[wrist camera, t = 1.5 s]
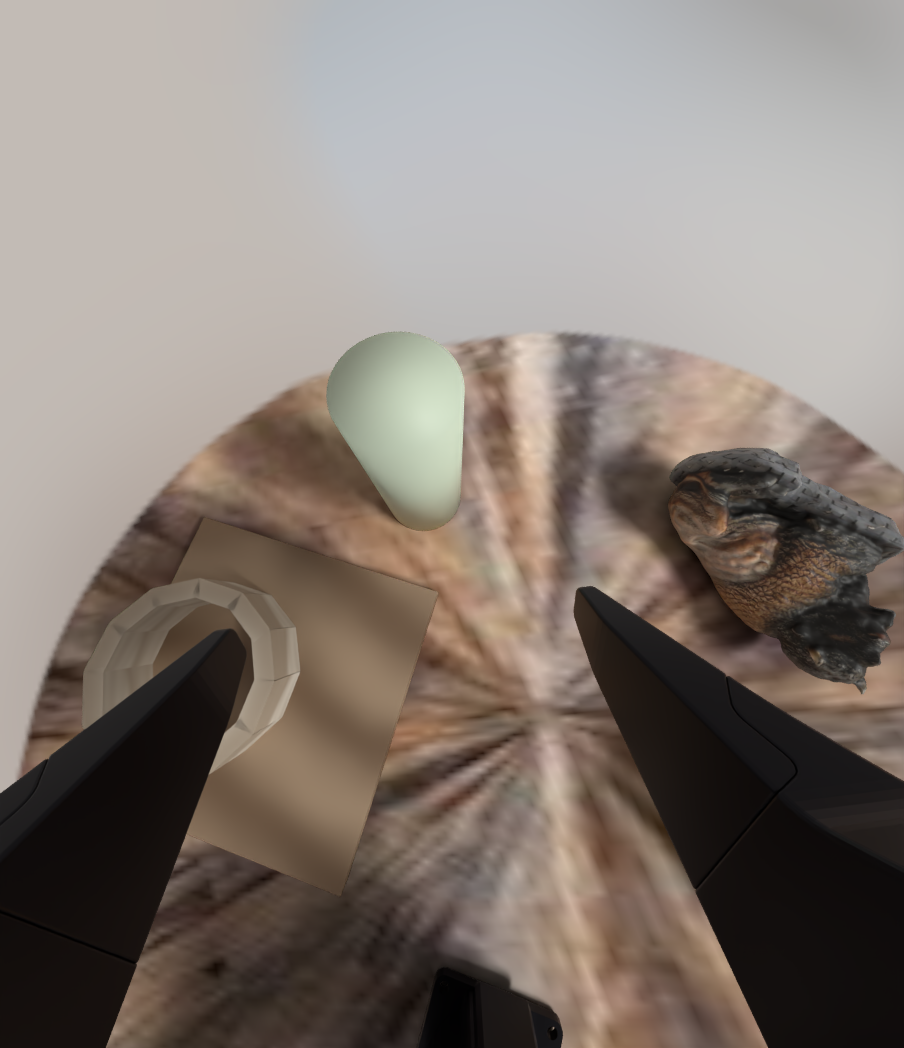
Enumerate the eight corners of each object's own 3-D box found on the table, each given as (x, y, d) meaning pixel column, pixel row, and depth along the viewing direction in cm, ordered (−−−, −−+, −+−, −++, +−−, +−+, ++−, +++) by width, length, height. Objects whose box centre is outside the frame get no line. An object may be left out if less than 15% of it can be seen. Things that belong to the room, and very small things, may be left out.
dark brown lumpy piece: (659, 463, 25) (608, 589, 22) (739, 403, 18) (680, 574, 16) (827, 541, 24) (794, 684, 21) (980, 507, 17) (959, 712, 14)
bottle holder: (347, 879, 19) (317, 952, 15) (91, 776, 20) (0, 817, 16) (438, 593, 23) (435, 588, 19) (216, 521, 24) (167, 503, 20)
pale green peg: (447, 540, 24) (439, 469, 12) (378, 518, 24) (304, 430, 12) (469, 473, 25) (481, 350, 13) (402, 454, 25) (356, 318, 14)
